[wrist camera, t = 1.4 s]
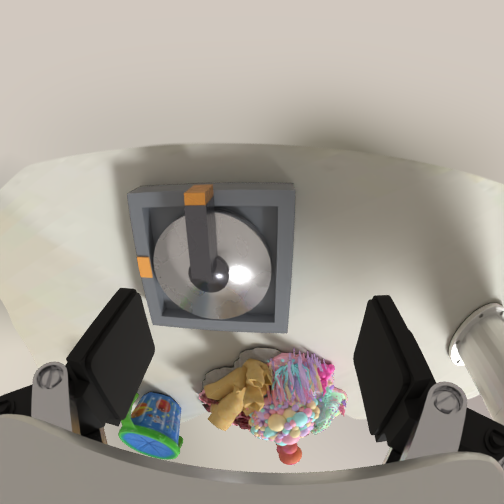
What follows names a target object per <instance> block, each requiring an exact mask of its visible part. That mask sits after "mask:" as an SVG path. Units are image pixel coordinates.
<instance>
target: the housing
mask: <svg viewBox="0 0 504 504" xmlns="http://www.w3.org/2000/svg"><path fill="white" fill-rule="evenodd" d="M209 184H213V195H214V202H215V208H221V209H226V210H229V211H232V212H235V213H237V214H239V215H241V216H242V217H244V218H246V219H247V220H248V221H250V222H251V223H252V224H253V225H254V226H255V227H256V228H257V229H258V230H259V231H260V233H261V234H262V235H263V237H264V239H265V240H266V242H267V244H268V247H269V250H270V254H271V264H272V266H271V280H270V284H269V288H268V290H267V292H266V294H265V296H264V297H263V299H262V300H261V301H260V302H259V303H258V304H257V305H256V306H255V307H254V308H253V309H251V310H250V311H248V312H246V313H244V314H242V315H240V316H237V317H233V318H228V319H209V318H204V317H200V316H197V315H194V314H192V313H190V312H187V311H186V310H184V309H182V308H181V307H179V306H178V305H177V304H175V303H174V302H173V301H172V300H171V299H170V298H169V297H168V296H167V295H166V293H165V292H164V291H163V289H162V288H161V286H160V284H159V282H158V280H157V277H156V274H155V270H154V251H155V247H156V244H157V241H158V239H159V237H160V236H161V234H162V233H163V232H164V230H165V229H166V228H167V227H168V226H169V225H170V224H171V223H172V222H173V221H174V220H175V219H176V218H178V217H179V216H181V215H182V214H184V213H185V211H184V205H185V202H184V193H185V192H186V191H187V190H188V189H190V188H191V187H192V186H193V185H209ZM127 197H128V205H129V212H130V218H131V225H132V231H133V237H134V242H135V248H136V253H137V261H138V266H139V271H140V276H141V278H142V282H143V287H144V291H145V296H146V300H147V304H148V308H149V312H150V316H151V320H152V323H153V325H159V326H169V327H179V328H190V329H203V330H217V331H234V332H257V333H287V332H288V319H289V306H290V292H291V277H292V260H293V241H294V218H295V187H294V184H293V183H195V184H170V185H152V186H140V187H138V188H136V189H135V190H133V191H131V192H129V193H127Z"/></svg>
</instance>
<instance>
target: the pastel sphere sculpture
mask: <svg viewBox="0 0 504 504" xmlns="http://www.w3.org/2000/svg"><path fill="white" fill-rule="evenodd" d="M293 353H294V354H293ZM293 353H291V352H290V353H281V352H280V351H278V350H276V349H269V348H255V349H253V350H246V351H244V352H242V353H240V356H239V360H237V361H235V362H234V367H233V368H227V367H224V368H221V369H214V370H213V371H210V372H209V373H207V374H206V379H205V380H203V389H204V390H202V392H201V393H199V399H200V400H201V401H203V402H204V403H206V404H202V405H203V406H204V408H205V409H206V410H207V411H208V412H211V413H212V414H211V415H210V416H209V418H208V420H209V421H210V422H211V423H212V424H214V425H215V426H216V427H217V428H219V429H221V430H224V431H226V430H227V429H228V428H229V427H230V426H231V424H233V425H236V426H237V425H239V426H240V428H241V429H248V430H249V431H250V432H251V433H252V434H253V435H254V436H255V437H257V438H259V439H260V438H261V439H264V440H270V441H273V440H274V442H275V443H276V445H277V452H278V453H279V458H280V460H281V461H282V462H283V463H284V464H287V465H292V464H296V463H297V462H299V461H300V459H301V457H302V451H301V449H300V448H299V447H298V446H297V443H296V442H297V441H298V440H299V438H300V437H301V438H303V437H305V436H307V435H308V434H309V432H311V433H313V434H315V433H319V432H321V431H324V430H326V428H328V427H329V426H330V424H331V422H332V420H333V418H335V417H336V416H337V415H339V414H340V413H341V412H342V413H341V414H343V415H344V413H345V409H344V407H346V403H347V401H348V397H347V394H346V393H345V392H344V391H343V390H341V389H337V388H335V387H334V385H333V381H334V377H333V375H334V373H333V371H334V370H335V367H334V365H332V364H329V365H328V364H325V361H324V359H323V362H324V364H321V362H320V360H319V362H318V357H316V359H315V353H314V354H311V357H309V354H308V351H307V358H305V356H304V353H303V354H301V353H300V351H299V354H297V355H295V348H293ZM313 355H314V359H313ZM315 435H316V434H315Z"/></svg>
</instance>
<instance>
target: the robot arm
mask: <svg viewBox="0 0 504 504" xmlns="http://www.w3.org/2000/svg"><path fill="white" fill-rule="evenodd" d="M154 352H155V346H154V342H153V339H152V336H151V332H150V329H149V325H148V322H147V318H146V314H145V311H144V307H143V303H142V299H141V296H140V294H139V293H137V292H136V290H135V289H128V288H120V289H119V290H118V291H117V292H116V293H115V295H114V296H113V297H112V298H111V300H110V301H109V302H108V303H107V305H106V306H105V307H104V309H103V310H102V311H101V312H100V314H99V315H98V316H97V318H96V319H95V320H94V321H93V323H92V324H91V325H90V327H89V328H88V329H87V331H86V332H85V333H84V335H83V336H82V337H81V339H80V340H79V342H78V343H77V344H76V346H75V347H74V348H73V350H72V351H71V353H70V354H69V355H68V357H67V358H66V360H67V364H66V365H63V364H62V363H60V362H49V363H46V364H44V365H43V366H41V367H40V368H39V369H38V370H37V371H36V373H35V374H34V377H33V384H32V385H30V386H27V387H24V388H22V389H19V390H16V391H13V392H10V393H8V394H5V395H3V396H0V504H504V308H503V306H502V305H500V304H498V303H490V304H488V305H485V306H483V307H481V308H479V309H478V310H476V311H475V312H474V313H472V314H471V315H470V316H469V317H468V318H467V319H466V320H465V321H464V322H463V323H462V324H461V326H460V327H459V328H458V330H457V331H456V333H455V334H454V336H453V338H452V340H451V343H450V346H449V356H450V359H451V360H452V362H453V363H454V364H456V365H465V367H466V368H467V370H468V372H469V374H470V376H471V378H472V379H473V381H474V383H475V385H476V387H477V389H478V391H479V393H480V395H481V397H482V399H483V401H484V403H485V405H486V407H487V409H488V411H489V413H490V416H491V418H492V419H489V418H487V417H485V416H483V415H481V414H479V413H477V412H475V411H473V410H471V409H469V408H467V398H466V395H465V393H464V392H463V390H462V389H461V388H460V387H458V386H457V385H455V384H453V383H450V382H439V383H437V384H436V382H435V379H434V377H433V375H432V373H431V371H430V369H429V366H428V364H427V362H426V360H425V358H424V356H423V354H422V352H421V350H420V348H419V346H418V344H417V342H416V340H415V338H414V336H413V334H412V333H411V331H410V330H408V328H407V326H406V324H405V322H404V320H403V319H402V317H401V315H400V313H399V311H398V309H397V307H396V306H395V304H394V302H393V300H392V299H391V297H390V296H389V295H379V296H374V297H373V299H372V300H369V301H368V303H367V307H366V311H365V315H364V319H363V323H362V327H361V330H360V334H359V338H358V341H357V345H356V348H355V352H354V358H353V360H354V365H355V369H356V373H357V377H358V381H359V386H360V390H361V394H362V398H363V403H364V407H365V412H366V417H367V421H368V426H369V431H370V434H371V435H375V439H376V442H382V441H387V444H388V446H389V447H390V449H389V452H388V453H387V455H386V458H385V460H384V462H383V464H382V465H376V466H369V467H362V468H354V469H346V470H337V471H325V472H309V473H258V472H242V471H231V470H221V469H212V468H205V467H198V466H192V465H186V464H180V463H175V462H170V461H166V460H161V459H157V458H152V457H148V456H144V455H140V454H136V453H133V452H129V451H126V450H122V449H119V448H116V447H113V446H110V445H108V444H107V440H106V436H105V432H104V426H105V423H109V424H112V425H115V426H119V424H120V422H121V420H124V419H125V418H126V416H127V414H128V411H129V409H130V407H131V404H132V402H133V400H134V397H135V395H136V393H137V391H138V388H139V386H140V384H141V382H142V379H143V377H144V375H145V373H146V370H147V368H148V366H149V364H150V362H151V360H152V357H153V355H154Z"/></svg>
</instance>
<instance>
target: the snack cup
mask: <svg viewBox="0 0 504 504" xmlns="http://www.w3.org/2000/svg"><path fill="white" fill-rule="evenodd" d="M138 396H139V394H138V393H136V395H135V397H134V400H133V402H132V404H131V407H130V409H129V411H128V414H127V416H126V418H125V419H124V420H121V423H122V427H121V429H120V431H119V434H118V435H119V438H120V439H121V440H122V442H124V443H125V444H126V445H128V446H129V447H130V448H132V449H134V450H136V451H138V452H140V453H142V454H145V455H148V456H151V457H154V458H159V459H174V458H176V457H177V456H178V454H180V448H181V446H182V443H183V438H182V437H181V436H179V428H180V416H181V407H179V405H178V404H177V403H176V402H175V401H174V400H173V399H172V398H170V397H169V396H165V395H162V394H158V393H153V392H150V393H148V394H145V395H144V396H143V397H142V398H141V400H140V401H139V403H138V404H137V406H136V407H135V409H134V411H133V412H132V414H131V410H132V405H133V403H134V402H135V401H136V399H137V398H138Z"/></svg>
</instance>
